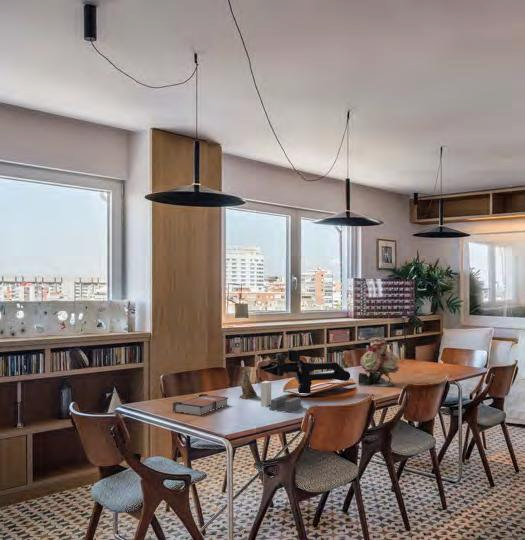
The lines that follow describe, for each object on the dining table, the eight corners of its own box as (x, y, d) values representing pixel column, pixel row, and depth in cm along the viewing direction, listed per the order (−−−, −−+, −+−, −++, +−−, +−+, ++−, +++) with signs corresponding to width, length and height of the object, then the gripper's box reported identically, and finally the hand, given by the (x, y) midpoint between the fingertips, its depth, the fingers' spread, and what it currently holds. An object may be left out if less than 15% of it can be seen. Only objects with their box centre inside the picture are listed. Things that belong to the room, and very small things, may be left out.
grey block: (265, 404, 304) (265, 381, 304) (271, 404, 302) (271, 381, 303) (260, 406, 300) (260, 382, 300) (266, 406, 298) (266, 383, 298)
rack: (282, 404, 303) (282, 395, 303) (302, 407, 296) (302, 397, 297) (269, 409, 291) (269, 400, 291) (289, 412, 284) (289, 402, 285)
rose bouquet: (358, 387, 350) (357, 339, 351) (358, 379, 379) (358, 334, 379) (400, 388, 345) (400, 339, 346) (398, 380, 374) (397, 334, 375)
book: (200, 416, 280) (200, 406, 280) (172, 412, 288) (172, 402, 288) (229, 406, 302) (229, 396, 303) (202, 402, 311) (202, 393, 311)
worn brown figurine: (245, 403, 317) (241, 373, 314) (238, 402, 321) (234, 372, 318) (258, 396, 326) (254, 366, 324) (251, 394, 330) (247, 365, 327)
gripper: (283, 351, 333) (257, 352, 329) (293, 355, 315) (266, 356, 311) (283, 370, 333) (257, 372, 328) (293, 375, 314) (266, 377, 310)
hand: (262, 369), depth 320 cm, fingers open, 9 cm apart
